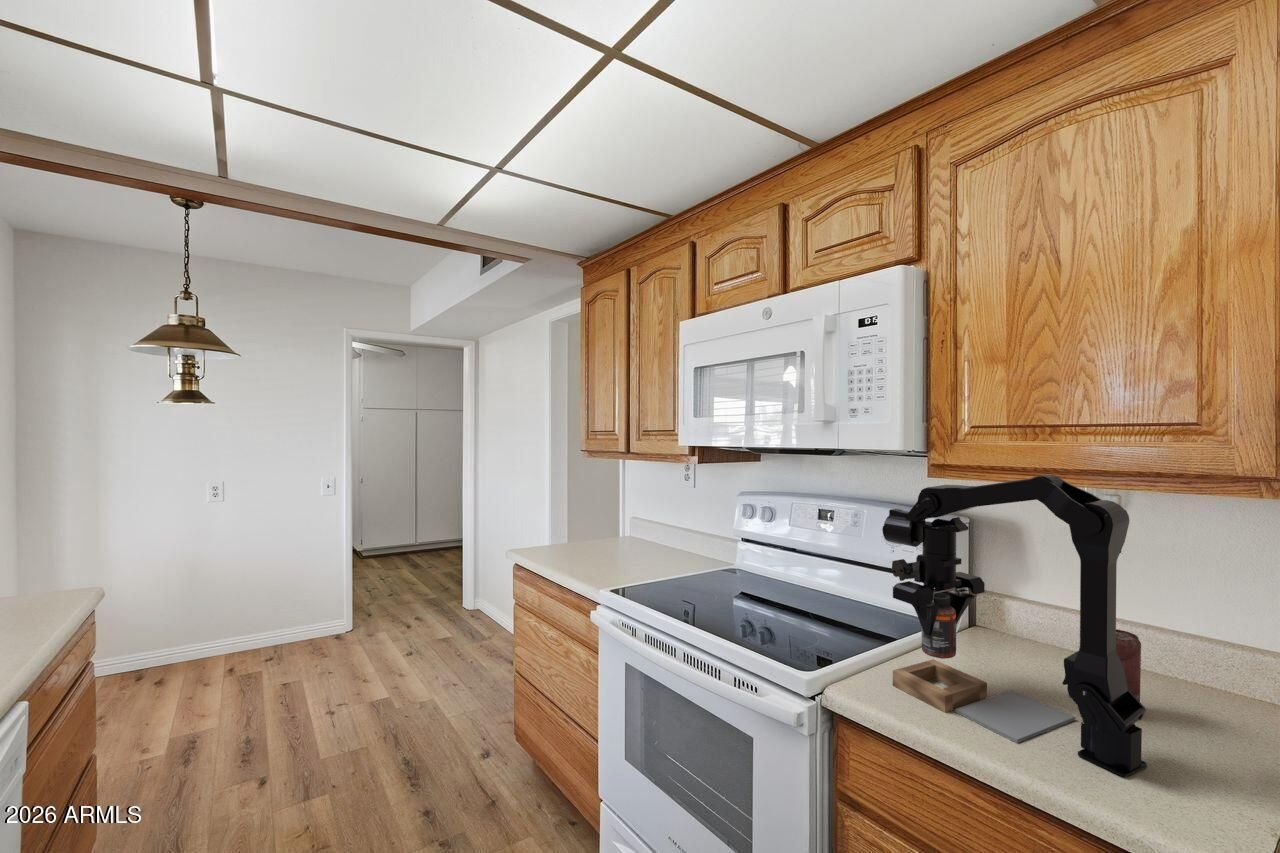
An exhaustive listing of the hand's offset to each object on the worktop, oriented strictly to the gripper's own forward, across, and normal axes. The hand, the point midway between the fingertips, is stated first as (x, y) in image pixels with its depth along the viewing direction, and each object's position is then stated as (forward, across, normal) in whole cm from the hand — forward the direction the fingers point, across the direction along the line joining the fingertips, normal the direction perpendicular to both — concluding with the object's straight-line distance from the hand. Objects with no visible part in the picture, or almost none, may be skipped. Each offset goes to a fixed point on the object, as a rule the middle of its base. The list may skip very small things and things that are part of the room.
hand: (938, 632), depth 114 cm
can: (+12, -22, +19) cm, 31 cm away
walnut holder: (+12, 0, 0) cm, 12 cm away
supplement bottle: (+4, 0, 0) cm, 4 cm away
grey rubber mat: (+12, -4, +12) cm, 17 cm away
